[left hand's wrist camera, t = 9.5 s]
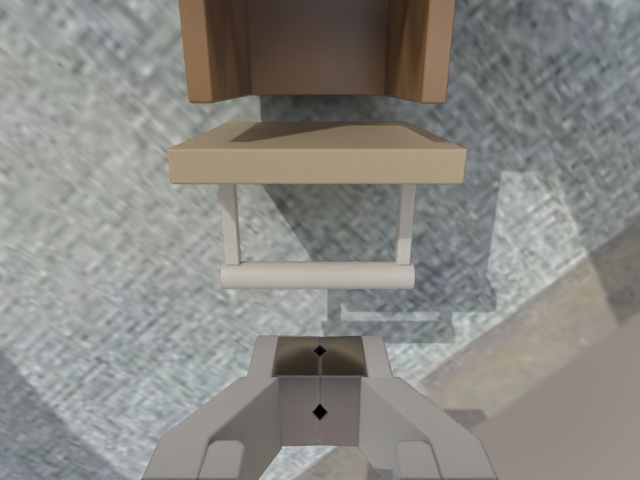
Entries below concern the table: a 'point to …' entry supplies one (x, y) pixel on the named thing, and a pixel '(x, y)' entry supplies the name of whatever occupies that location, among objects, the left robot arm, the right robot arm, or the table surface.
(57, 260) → the table surface
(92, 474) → the table surface
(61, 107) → the table surface
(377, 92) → the drawer
